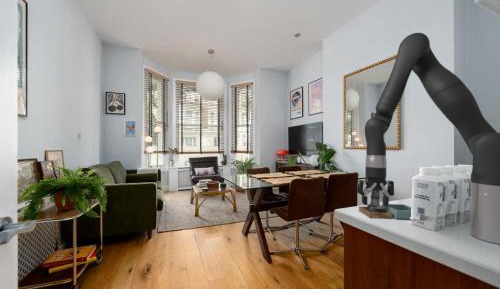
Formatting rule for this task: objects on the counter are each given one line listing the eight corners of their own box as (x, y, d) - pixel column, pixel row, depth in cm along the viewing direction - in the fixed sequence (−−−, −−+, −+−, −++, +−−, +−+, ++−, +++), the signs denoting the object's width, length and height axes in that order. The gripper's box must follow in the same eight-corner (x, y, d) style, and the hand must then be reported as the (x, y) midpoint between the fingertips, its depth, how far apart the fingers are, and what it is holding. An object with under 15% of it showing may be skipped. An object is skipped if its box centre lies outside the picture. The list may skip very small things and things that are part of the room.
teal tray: (403, 212, 90) (403, 204, 90) (420, 220, 81) (421, 211, 81) (381, 212, 90) (381, 203, 90) (396, 219, 81) (396, 210, 81)
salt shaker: (378, 213, 89) (379, 185, 89) (386, 217, 83) (386, 187, 83) (364, 212, 89) (364, 184, 90) (370, 216, 84) (371, 187, 84)
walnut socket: (379, 211, 91) (379, 206, 91) (392, 218, 82) (392, 213, 82) (358, 211, 91) (359, 206, 91) (370, 218, 82) (370, 212, 82)
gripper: (363, 166, 83) (362, 207, 83) (399, 167, 83) (398, 208, 82) (354, 164, 90) (353, 202, 90) (387, 165, 90) (386, 203, 90)
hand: (375, 205), depth 86 cm, fingers open, 8 cm apart
